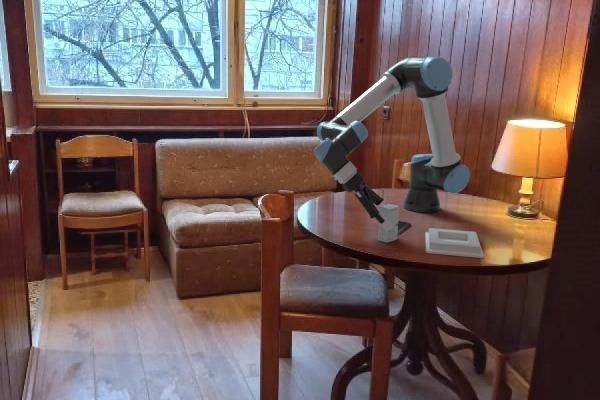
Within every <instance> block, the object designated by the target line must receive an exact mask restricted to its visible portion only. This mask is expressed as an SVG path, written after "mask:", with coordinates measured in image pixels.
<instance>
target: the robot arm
mask: <svg viewBox="0 0 600 400" xmlns="http://www.w3.org/2000/svg"><path fill="white" fill-rule="evenodd" d="M452 80H453V69H452V66H451V63H449V61H448V60H446V59H445V58H443V57H440V56H435V55H428V56H427V55H426V56H425V55H422V56H417V55H413V56H408V57H405V58H402V59H401V60H399V61H398V62H396V63H395V64H393V65H392V66H390V67H389V68H388V69H387V70H386V71H384V72H383V73H382V74H381V78H380V79H379V80H378V81H377V82H375V83H374V84H373V85H371V86H370V88H368V89H367V90H365V92H363V93H362V94H361V95H360V96H358V97H357V98H356V99H355V100H353V102H352V103H350V104H349V105H348V106H347V107H345V108H344V109H343V110H342V111H341V112H339V113H338V114H337V115H336V116H335V117H333V118H332V119H331V120H329V121H323V122H320V123H319V124H318V126H317V128H316V136H317V138H318V139H319V140H320V141H321V142H320V143H319V144H318V145H317V146H316V147H315V148H314V149H313V155H314V156H315V157H316V158H317V159H318V161H319V162H320V163H321V164H322V165H323V166H324V167H325V168H326V169H327V171H328V172H329V173H330V174H331V175H332V177H334V181H338V183H339V184H342V187H343V188H344V189H345V190H346V192H347V193H352V192H353V191H354V192H355V193H354V196H355V198H357V200H358V202H360V204H361V205H362V207H363V208H364V209H365V211H366V212H367V214H368V215H369V217H370V219H371V220H372V219H374V220H375V221H376V222H377V223H378V225H379V224H380V225H381V226H382V227H383V228H384V229H385V230H386V232H387V231H388V230H390V229H391V228H392V227H393V226H392V224H391V223H390V222H389V221H388V220H387V219H386V218H385V217H384V216H383V215H382V213H381V212H380V206H384V205H386V204H385V202H384V200H385V199H384V197H381V196H380V195H379V194H377V192H376V191H374V190H373V189H372V188H371V187H370V186H369V185H368V184H367V183H366V182H364V181H365V179H366V178H365V176H364V175H363V174H362V173H361V172H360V171H357V170H358V168H357V167H356V166H355V165H354V164H353V163H352V162H351V160H350V159H349V158H348V156H349V155H350V154H351V153H353V152H354V151H355V150H356V149H357V148H358V147H359V146H360V145H361V144H363V142H365V140H366V139H367V138H368V137H369V132H368V129H367V128H366V126H365V125H364V123H362V121H364V120H365V119H366V118H367V117H368V116H370V115H371V114H372V113H373V112H374V111H375V110H376V109H378V108H379V107H381V106H382V105H383V104H384V103H385V102H386V101H387V100H389V99H390V98H391V97H392V96H393V95H398V94H400V93H401V92H402V91H404V90H406V89H414V91H415V95H416V98H417V99H419V100H420V101H421V104H422V108H423V113H424V117H425V118H424V119H425V123H426V128H427V133H428V138H429V142H430V143H429V144H430V148H431V152H432V153H421V154H414V155H413V156H412V157H411V161H410V170H409V187H408V191H407V193H406V195H405V198H404V200H403V208H404V209H406V210H408V211H413V212H415V213H436V212H439V211H440V210H441V202H440V197H439V193H438V190H441V191H444V192H446V193H452V194H457V193H460V192H462V191H463V190H464V189H465V188H466V187H467V185H468V184H469V181H470V176H471V171H470V168H469V167H468V166H467V165H465V164H463V163H462V162H463V161H462V158H461V155H460V154H459V153H457V152H456V149H455V148H456V147H455V143H454V138H453V137H454V136H453V132H452V131H453V130H452V127H451V126H452V125H451V120H450V115H449V109H448V104H447V98H446V95H447V93H448V92H449V87H450V85H451V83H452Z"/></svg>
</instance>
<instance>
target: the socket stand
mask: <svg viewBox="0 0 600 400" xmlns="http://www.w3.org/2000/svg"><path fill="white" fill-rule="evenodd" d="M424 236H425V237H424V238H425V239H424V241H425V253H426V254H433V255H434V254H435V255H444V256H445V255H446V256H455V257H457V256H458V257H465V258H466V257H467V258H477V259H478V258H479V259H485V255H484V252H483V249H482V247H481V243H480V240H479V238H478V234H477V232H476V231H470V230H469V231H468V230H458V229H443V228H435V227H434V228H433V227H429V228H428V231H425V232H424Z"/></svg>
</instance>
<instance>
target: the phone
mask: <svg viewBox="0 0 600 400" xmlns="http://www.w3.org/2000/svg"><path fill="white" fill-rule="evenodd" d="M411 225H412V223H411V222H406V221H401V220H398V233H397V236H398V235H399V236H400V234H402V233H403V232H404V231H405V230H407V229H408V228H410V227H411Z"/></svg>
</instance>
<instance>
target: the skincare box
mask: <svg viewBox="0 0 600 400" xmlns="http://www.w3.org/2000/svg"><path fill="white" fill-rule="evenodd" d="M379 212H381V213H382V215H383V216H384V217H385V218H386V219H387V220H388V221H389V222H390V223H391V224H392V226H393V227H392V228H391V229H390V230H388V231H387V232H386V230H385V229H384V228H383V227H382V226H381V225H380V224H379V223H378V229H377V230H378V231H377V232H378V233H377V240H378V241H380V242H383V243H390V242H394V241H397V240H398V235H397V233H398V221H399V218H400V217H399V215H400V206H399V205H396V204H391V203H388V204H385V205H384V206H380V210H379Z"/></svg>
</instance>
